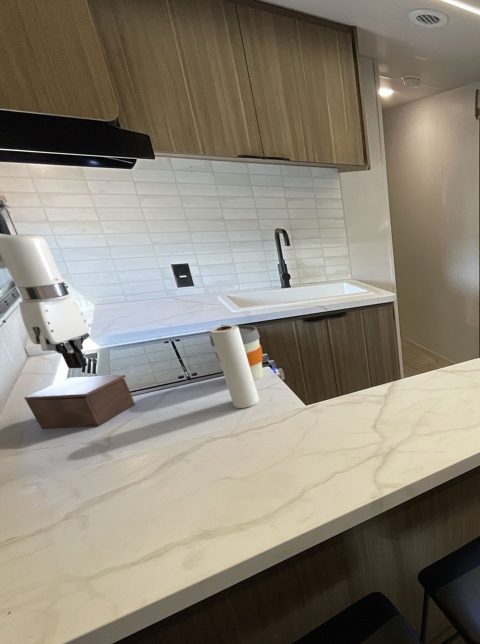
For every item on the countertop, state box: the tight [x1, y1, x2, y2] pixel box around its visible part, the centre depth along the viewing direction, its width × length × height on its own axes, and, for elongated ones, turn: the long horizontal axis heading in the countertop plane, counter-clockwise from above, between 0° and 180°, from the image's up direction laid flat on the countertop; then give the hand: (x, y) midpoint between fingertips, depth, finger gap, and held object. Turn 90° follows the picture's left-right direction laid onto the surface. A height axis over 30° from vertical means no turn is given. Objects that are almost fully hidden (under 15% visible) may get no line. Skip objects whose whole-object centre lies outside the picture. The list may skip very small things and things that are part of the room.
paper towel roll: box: [209, 324, 260, 409], centre depth 105 cm, size 7×6×21 cm
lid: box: [24, 374, 126, 401], centre depth 100 cm, size 14×12×1 cm
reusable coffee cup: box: [208, 325, 264, 382], centre depth 122 cm, size 13×12×15 cm
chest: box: [25, 378, 136, 429], centre depth 102 cm, size 14×12×8 cm
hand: (78, 366), depth 98 cm, fingers closed
